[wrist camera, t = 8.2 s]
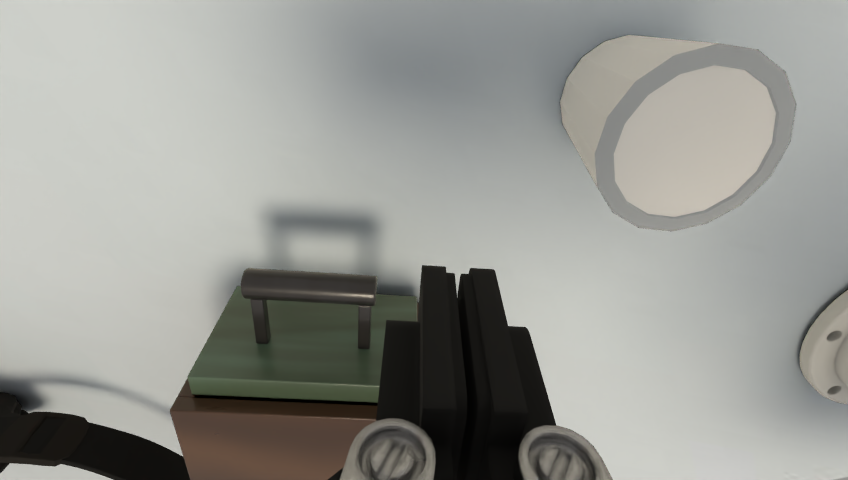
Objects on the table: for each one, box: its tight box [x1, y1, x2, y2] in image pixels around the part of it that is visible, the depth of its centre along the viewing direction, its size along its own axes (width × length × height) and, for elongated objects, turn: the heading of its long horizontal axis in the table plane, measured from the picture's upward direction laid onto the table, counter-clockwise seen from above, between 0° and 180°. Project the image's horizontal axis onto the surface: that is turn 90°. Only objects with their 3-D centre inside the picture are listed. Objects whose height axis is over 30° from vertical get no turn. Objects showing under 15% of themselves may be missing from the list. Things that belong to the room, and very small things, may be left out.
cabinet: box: [170, 303, 419, 480], centre depth 28 cm, size 14×12×9 cm
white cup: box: [560, 35, 796, 231], centre depth 19 cm, size 7×7×7 cm
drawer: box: [188, 268, 417, 406], centre depth 26 cm, size 17×10×7 cm, turn 175°
